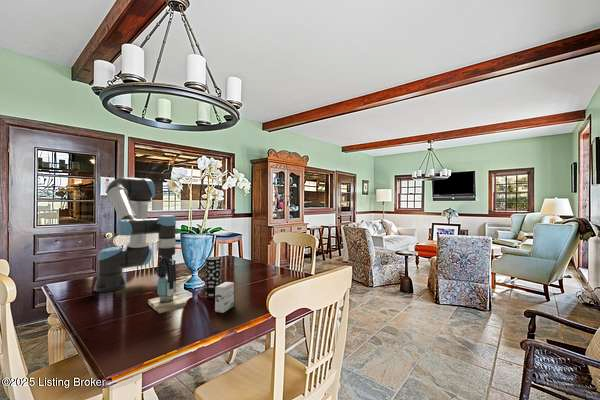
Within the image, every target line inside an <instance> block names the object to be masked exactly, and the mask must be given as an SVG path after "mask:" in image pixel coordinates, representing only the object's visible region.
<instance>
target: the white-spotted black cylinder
mask: <svg viewBox="0 0 600 400" xmlns="http://www.w3.org/2000/svg"><path fill="white" fill-rule="evenodd" d="M204 261H205V262H204V263H205V264H204V267H205V271H204V277H205V278H204V280H205V281H204V297H205V298H207V299H215V287H216V286H218V285H220V284H222V257H220V256H209V257H206V258H205V260H204Z"/></svg>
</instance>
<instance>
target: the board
mask: <svg viewBox="0 0 600 400" xmlns="http://www.w3.org/2000/svg"><path fill="white" fill-rule="evenodd" d="M147 304H148V305H149V306H150V307H151V308H152V309H153V310H154V311H156V312H157V313H158V314H162V313H165V312H169V311H174V310H177V309H180V308H184V307H186V301H185V300H183V299H182V298H179V297H178V296H177V295H175V294H174V295H173V301H172V302H169V303H160V296H159V297H154V298H151V299H148V300H147Z"/></svg>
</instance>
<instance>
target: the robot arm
mask: <svg viewBox="0 0 600 400" xmlns="http://www.w3.org/2000/svg"><path fill="white" fill-rule="evenodd" d="M155 195H156V188H155V183H154V182H153V180H152V179H150V178H143V177H142V178H141V177H140V178H139V177H125V176H123V177H118V178H116V179H114V180H112V181H111V182H110V183H109V184H108V186H107V188H106V196H107V198H108V199H109V200H110V201H111V202H112V205H113V207H114V210H115V212H116V215H117V218H118V219H119V220H118V221H117V223H116V233H117V235H119V236H123V237H124V236H129V242H128V243H127V244H126V247H124V248H123V246H112V247H107V248H104V249H101V250H99V252H98V257H97V260H98V265H97V266H98V269H97V273H98V275H97V279H96V281H95V284H94V287H93V291H94V292H95V291H96V292H95V293H110V292H109V291H111V292H115V291H116V292H117V291H120V290H122V289H125V288H126V287H127V283H126V278H125V277H124V273H123V269H128V268H129V269H130V268H135V267H136V268H137V267H142V266H146V265H148V264H149V263H150V261H151V260H152V257H153V251H152V250H153V249H152V247H151V246H150V245H149V243H148V242H147V235H150V234H151V235H153V234H158V241H157V243H158V247H157V251H158V254H157V255H158V256H159V257H158V266H157V267H158V268H157V277H159V278H161V277H168V282H167V296H171V295H175V293H174V281H176V282H177V272H176V260H175V259H173V256H174V255H176V247H175V246H176V241H177V240H176V224H177V221H176V216H175V215H173V214H171V215H170V214H162V215H161V214H160V215H159V216H158V217H155V218H148V213H149V211H148V209H149V203H150V202H152V199H154V198H155ZM159 278H158V279H159Z"/></svg>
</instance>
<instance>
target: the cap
mask: <svg viewBox="0 0 600 400" xmlns="http://www.w3.org/2000/svg"><path fill="white" fill-rule="evenodd" d="M157 279H158V280H157V295H158V296H160V295H167V282H168V277H167V276H166V277H161V278H157ZM176 292H177V280H176V281H174V294H175V293H176Z"/></svg>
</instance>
